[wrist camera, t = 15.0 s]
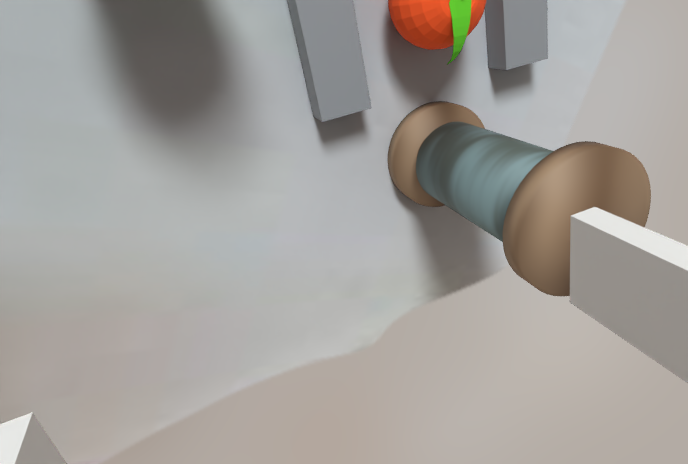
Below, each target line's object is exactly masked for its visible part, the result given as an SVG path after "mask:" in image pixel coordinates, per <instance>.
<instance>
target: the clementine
mask: <svg viewBox="0 0 688 464" xmlns="http://www.w3.org/2000/svg"><path fill="white" fill-rule="evenodd" d="M485 5H486V0H388V7H389V11H390V16H391V19H392V21H393V23H394V25H395V28H396V30H397V31H398V32H399V33H400V35H401V36H402V37H403V38H404V39H405V40H407V41H408V42H410V43H411V44H413V45H415V46H417V47H421V48H424V49H428V50H433V49H443V48H447V47H450V46H452V45H453V54H452V58H451V60H450V61H449V62H448V64H449V63H450V62H452V61H453V60H455V58H456V57H457V56H458V54H459V53H460V51H461V49H462V47H463V44H464V42H465V39H466V37H467V36H468V35H469V34H470V33H471V31H472V30H473V29H474V28H475V27H476V26H477V24H478V22H479V20H480V18H481V17H482V15H483V12H484V8H485ZM448 64H447V65H448Z"/></svg>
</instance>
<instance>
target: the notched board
mask: <svg viewBox="0 0 688 464" xmlns="http://www.w3.org/2000/svg"><path fill="white" fill-rule="evenodd" d="M287 2H288V6H289V11H290V15H291V19H292V24H293V28H294V33H295V37H296V41H297V46H298V50H299V55H300V59H301V63H302V68H303V72H304V77H305V81H306V85H307V90H308V94H309V99H310V103H311V108H312V112H313V116H314V117H315V118H317V119H318V120H320V121H322V122H324V121H328V120H331V119H335V118H338V117H342V116H345V115H349V114H352V113H356V112H360V111H363V110H367V109H370V108H371V103H370V97H369V91H368V85H367V80H366V74H365V68H364V62H363V56H362V50H361V45H360V39H359V33H358V27H357V21H356V16H355V10H354V4H353V0H287ZM485 17H486V33H487V49H488V65H489V68H494V69H501V70H509V69H512V68H516V67H519V66H523V65H526V64H530V63H534V62H537V61H541V60H544V59H548V38H547V0H486V5H485Z"/></svg>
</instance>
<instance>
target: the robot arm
mask: <svg viewBox="0 0 688 464" xmlns="http://www.w3.org/2000/svg"><path fill="white" fill-rule="evenodd" d="M570 303H571V304H573V305H574V306H576V307H577V308H579V309H580V310H582V311H583V312H585V313H586V314H588V315H589V316H591V317H592V318H594V319H595V320H596V321H598V322H599V323H601V324H602V325H604V326H605V327H607V328H608V329H609V330H611V331H612V332H614V333H615V334H617V335H618V336H620V337H621V338H622V339H624V340H625V341H627V342H629V343H630V344H631V345H633V346H634V347H636V348H637V349H639V350H640V351H641V352H643V353H644V354H646V355H647V356H649V357H650V358H652V359H653V360H655V361H656V362H657V363H659V364H660V365H662V366H663V367H665V368H666V369H668V370H669V371H671V372H672V373H674V374H675V375H677V376H678V377H679V378H681V379H682V380H684V381H685V382H687V383H688V246H687V245H684V244H681V243H680V242H677V241H675V240H672V239H670V238H667V237H665V236H663V235H661V234H658V233H656V232H654V231H651V230H649V229H646V228H644V227H642V226H639V225H637V224H635V223H632V222H630V221H628V220H625V219H623V218H620V217H618V216H616V215H613V214H611V213H609V212H606V211H604V210H602V209H599V208H597V207H593V208H590V209H587V210H585V211H582V212H579V213H576V214H574V215H571V228H570ZM0 464H67V463H66V462H65V460H64V459H63V457H62V456H61V454H60V453H59V451H58V450H57V448H56V447H55V445H54V444H53V442H52V441H51V439H50V438H49V436H48V435H47V433H46V432H45V430H44V429H43V427H42V426H41V424H40V423H39V421H38V420H37V418H36V417H35V415H34V414H33V412H32V413H30V414H27V415H24V416H21V417H19V418H16V419H13V420H10V421H8V422H5V423H2V424H0Z"/></svg>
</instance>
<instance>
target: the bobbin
mask: <svg viewBox="0 0 688 464" xmlns="http://www.w3.org/2000/svg"><path fill="white" fill-rule="evenodd" d="M388 168H389V172H390V176H391V178H392V180H393V182H394V184H395V185H396V187H397V188H398V189H399V190H400V191H401V192H402V193H403V194H404V195H406V196H407V197H409V198H410V199H411V200H413V201H414V202H416V203H418V204H421V205H424V206H430V207H438V206H444V205H446V206H448V207H449V208H451V209H452V210H454V211H455V212H457V213H459V214H460V215H462V216H463V217H465V218H466V219H468V220H469V221H471V222H473V223H474V224H476V225H477V226H479V227H480V228H482V229H483V230H485V231H486V232H488V233H490V234H491V235H493V236H494V237H496V238H497V239H499V240H500V241H502V242H503V247H504V252H505V256H506V259H507V261H508V263H509V265H510V266H511V267H512V269H513V271H514V272H515V273H516V274H517V275H519V276H520V277H521V278H523V279H524V280H526V281H527V282H528V283H530V284H531V285H533V286H534V287H535V288H537V289H538V290H540V291H541V292H544V293H546V294H549V295H553V296H570V228H571V215H574V214H576V213H579V212H582V211H585V210H587V209H590V208H593V207H597V208H599V209H602V210H604V211H606V212H609V213H611V214H613V215H616V216H618V217H620V218H623V219H625V220H628V221H630V222H632V223H635V224H637V225H639V226H642V227H645V224H646V222H647V218H648V214H649V209H650V201H651V200H650V199H651V190H650V183H649V178H648V175H647V173H646V170H645V168H644V167H643V165H642V163H641V162H640V161H639V160H638V159H637V158H636V157H635V156H634V155H632V154H631V153H629V152H627V151H625V150H622V149H619V148H615V147H611V146H608V145H604V144H600V143H596V142H586V141H585V142H576V143H572V144H569V145H566V146H564V147H561V148H559V149H557V150H555V151H551V150H548V149H545V148H542V147H539V146H536V145H533V144H529V143H526V142H523V141H520V140H517V139H514V138H511V137H508V136H505V135H502V134H499V133H496V132H493V131H489V130H486V129H485V128H484V125H483V124H482V122H481V120H480V119H479V118H478V116H477V115H476V114H475V113H473V112H472V111H471V110H469V109H468V108H466V107H463V106H461V105H457V104H453V103H449V102H443V101H438V102H431V103H427V104H424V105H422V106H420V107H418V108H416V109H415V110H413V111H412V112H410V113H409V114H408V115H407V116H406V117H405V118H404V119H403V120H402V121H401V123H400V124H399V126H398V127H397V129H396V130H395V132H394V134H393V137H392V139H391V142H390V146H389V151H388Z"/></svg>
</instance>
